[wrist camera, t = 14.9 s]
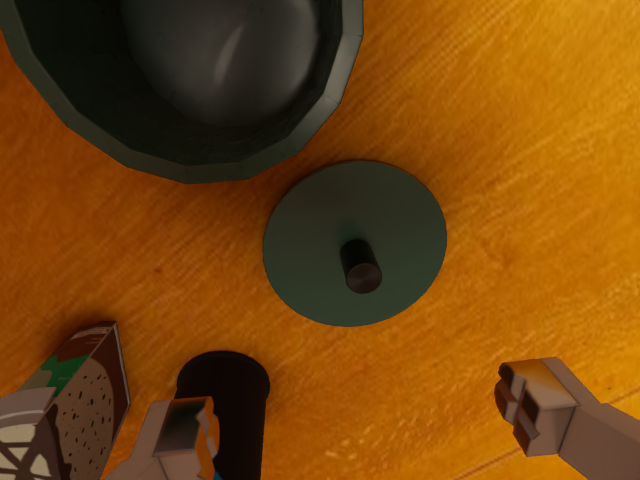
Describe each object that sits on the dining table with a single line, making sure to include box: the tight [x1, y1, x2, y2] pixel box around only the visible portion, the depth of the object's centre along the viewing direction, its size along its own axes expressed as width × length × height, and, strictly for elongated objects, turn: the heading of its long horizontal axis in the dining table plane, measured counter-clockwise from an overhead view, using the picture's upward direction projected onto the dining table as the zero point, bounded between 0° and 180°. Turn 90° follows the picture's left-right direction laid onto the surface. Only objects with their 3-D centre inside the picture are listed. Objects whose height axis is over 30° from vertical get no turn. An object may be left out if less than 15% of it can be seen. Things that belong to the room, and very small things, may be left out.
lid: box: [262, 160, 447, 327], centre depth 26 cm, size 14×14×5 cm
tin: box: [0, 0, 364, 184], centre depth 17 cm, size 13×13×10 cm
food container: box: [0, 321, 131, 480], centre depth 27 cm, size 12×6×10 cm, turn 175°
